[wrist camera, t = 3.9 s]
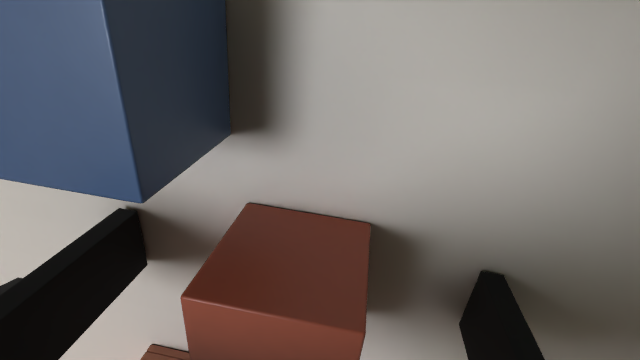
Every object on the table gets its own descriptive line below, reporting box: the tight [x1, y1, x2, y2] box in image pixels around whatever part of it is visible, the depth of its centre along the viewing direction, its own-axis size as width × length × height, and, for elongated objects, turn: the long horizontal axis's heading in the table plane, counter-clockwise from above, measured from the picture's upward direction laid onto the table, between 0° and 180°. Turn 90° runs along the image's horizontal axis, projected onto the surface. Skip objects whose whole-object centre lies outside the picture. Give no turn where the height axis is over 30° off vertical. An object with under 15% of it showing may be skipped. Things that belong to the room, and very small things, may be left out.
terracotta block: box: [181, 203, 371, 360], centre depth 11 cm, size 4×4×4 cm
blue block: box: [0, 0, 231, 203], centre depth 8 cm, size 4×4×4 cm
